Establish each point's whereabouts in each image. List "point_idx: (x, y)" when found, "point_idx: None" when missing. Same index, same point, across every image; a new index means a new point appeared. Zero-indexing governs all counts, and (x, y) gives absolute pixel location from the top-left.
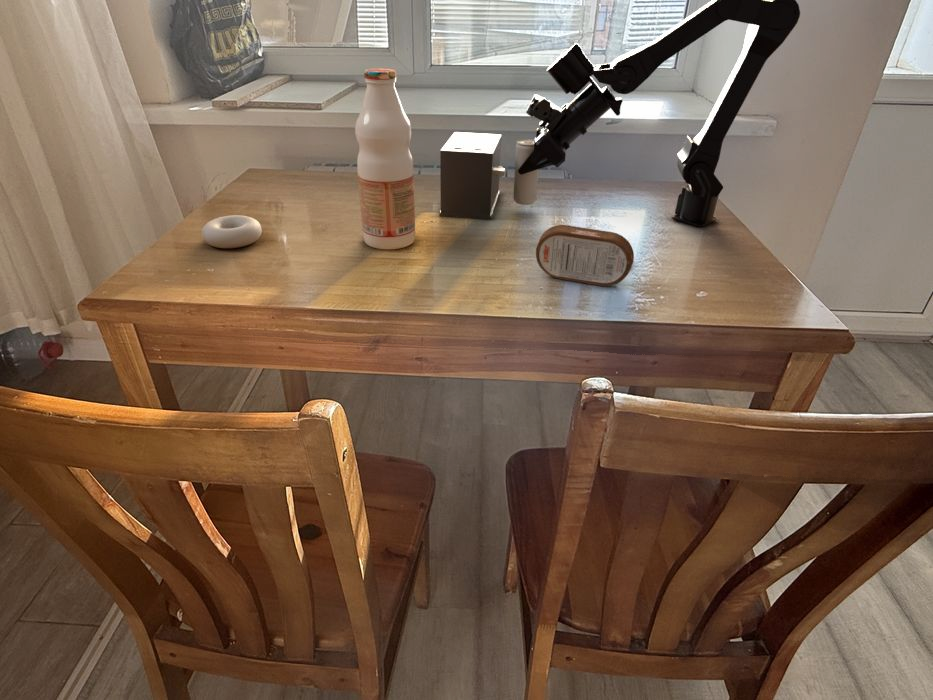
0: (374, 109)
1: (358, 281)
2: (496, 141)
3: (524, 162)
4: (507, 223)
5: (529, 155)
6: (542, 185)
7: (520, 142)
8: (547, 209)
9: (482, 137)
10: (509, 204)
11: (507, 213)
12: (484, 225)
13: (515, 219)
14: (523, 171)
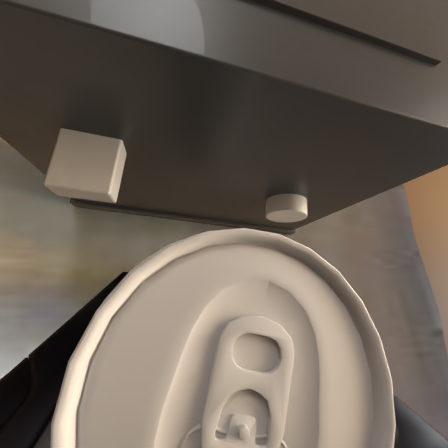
0: None
1: None
2: (313, 77)
3: (69, 320)
4: (39, 254)
5: (33, 388)
6: (391, 356)
7: (229, 273)
8: None
9: (374, 8)
10: None
11: (135, 255)
12: (23, 187)
13: (78, 279)
14: None
